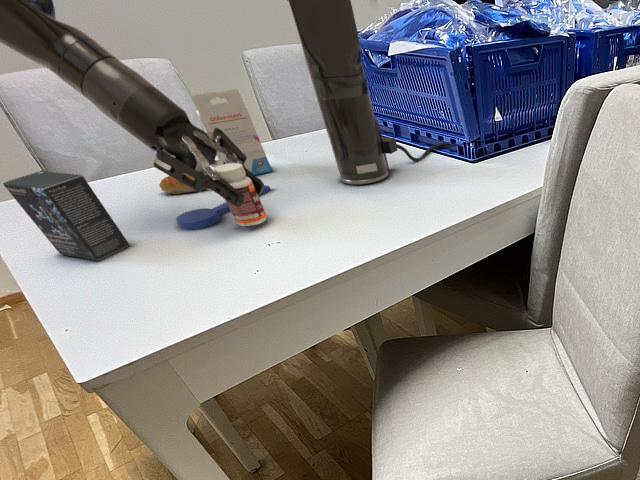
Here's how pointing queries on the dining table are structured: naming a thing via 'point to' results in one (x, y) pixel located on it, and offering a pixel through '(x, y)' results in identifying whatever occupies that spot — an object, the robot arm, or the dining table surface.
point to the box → (68, 214)
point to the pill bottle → (251, 206)
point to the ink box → (233, 126)
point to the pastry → (175, 185)
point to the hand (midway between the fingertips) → (251, 195)
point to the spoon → (205, 215)
